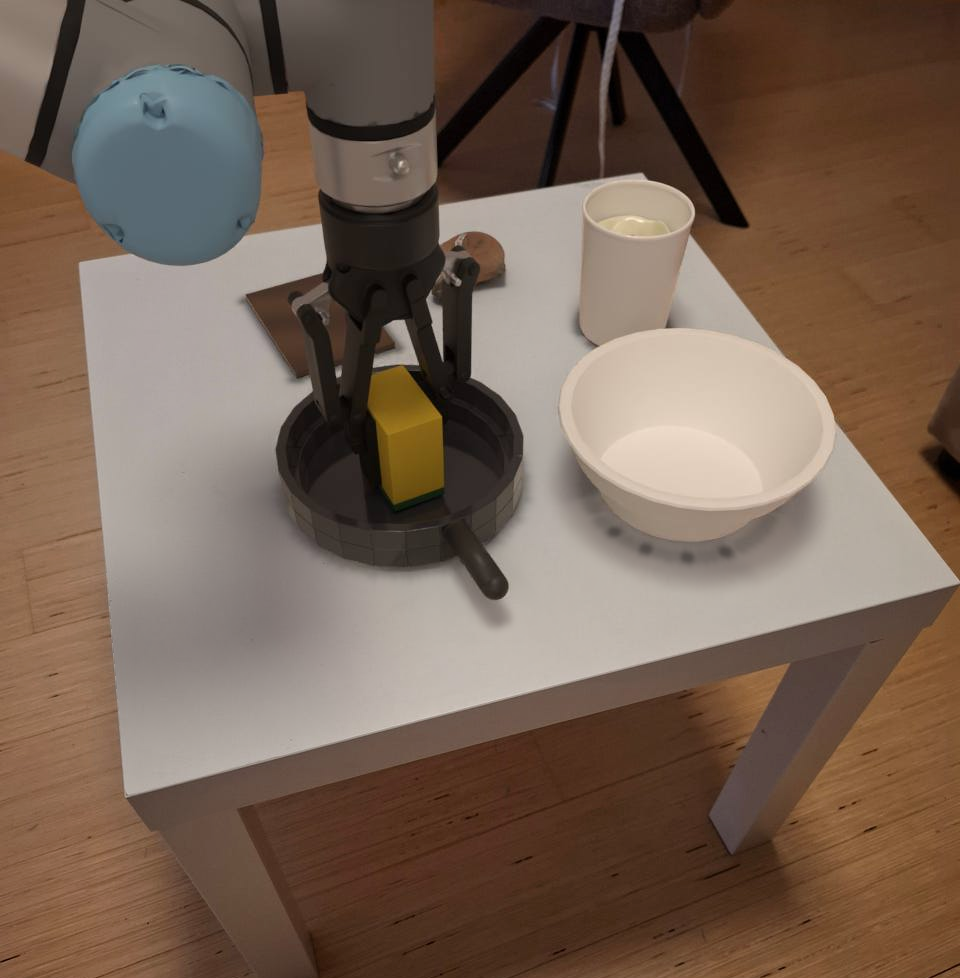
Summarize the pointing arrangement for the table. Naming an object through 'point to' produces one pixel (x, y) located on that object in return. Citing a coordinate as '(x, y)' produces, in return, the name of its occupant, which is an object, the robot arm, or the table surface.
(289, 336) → the brown flat slab
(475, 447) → the pan
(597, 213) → the candle holder
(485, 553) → the pan handle
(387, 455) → the sponge
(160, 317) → the table surface
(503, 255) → the oil lamp
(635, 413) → the bowl
